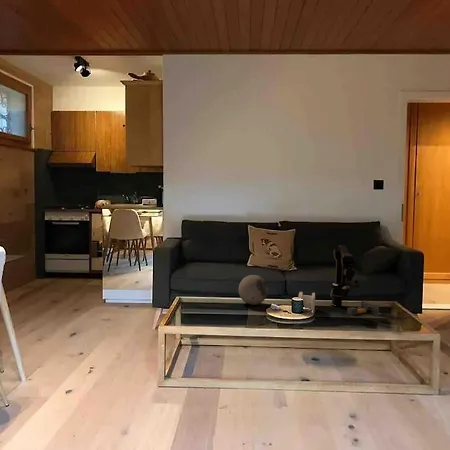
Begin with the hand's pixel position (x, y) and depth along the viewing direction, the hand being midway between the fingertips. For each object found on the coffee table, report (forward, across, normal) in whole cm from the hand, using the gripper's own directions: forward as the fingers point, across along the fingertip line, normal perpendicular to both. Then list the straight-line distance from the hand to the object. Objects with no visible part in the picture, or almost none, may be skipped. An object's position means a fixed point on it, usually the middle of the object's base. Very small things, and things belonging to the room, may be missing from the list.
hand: (344, 298), depth 342 cm
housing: (+11, +23, 0) cm, 25 cm away
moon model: (+11, -42, +43) cm, 61 cm away
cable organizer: (+11, -18, +16) cm, 27 cm away
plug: (+11, +12, 0) cm, 16 cm away
